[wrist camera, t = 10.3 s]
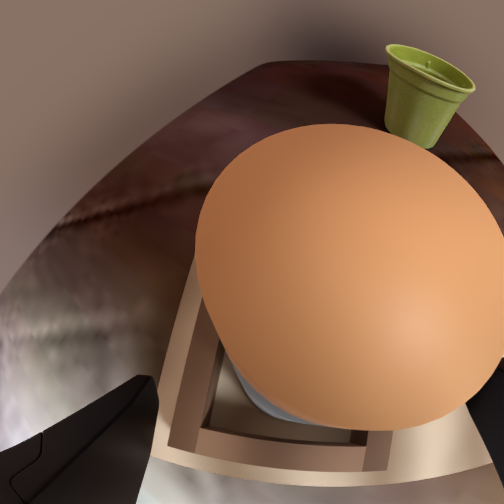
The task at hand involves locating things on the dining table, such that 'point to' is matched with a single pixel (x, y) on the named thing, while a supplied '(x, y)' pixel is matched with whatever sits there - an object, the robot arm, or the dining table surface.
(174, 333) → the jig
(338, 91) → the dining table surface
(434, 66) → the plant pot
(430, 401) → the orange-capped blue cylinder
